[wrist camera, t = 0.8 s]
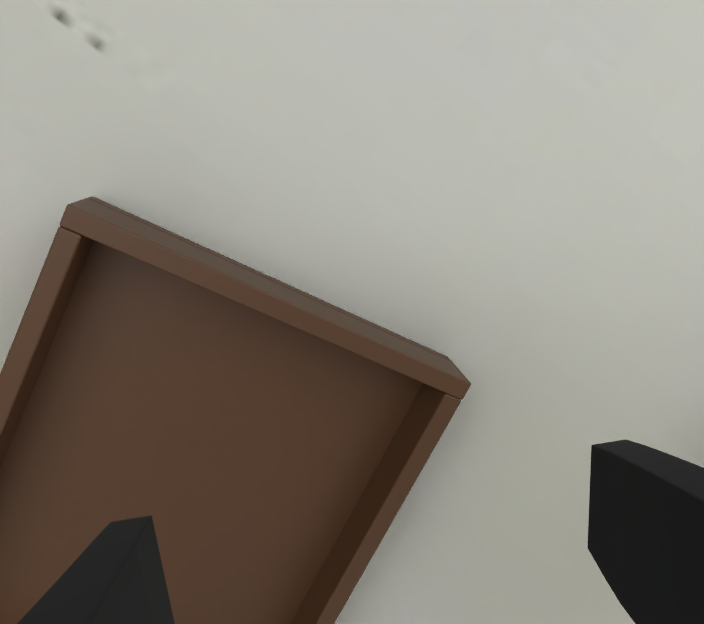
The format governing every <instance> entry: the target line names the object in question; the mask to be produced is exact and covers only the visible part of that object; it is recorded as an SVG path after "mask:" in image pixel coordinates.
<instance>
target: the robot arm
mask: <svg viewBox="0 0 704 624" xmlns="http://www.w3.org/2000/svg"><path fill="white" fill-rule="evenodd" d="M588 549H589V551H590V553H591V554H592V556H593V558H594V560H595V561H596V563H597V565H598V567H599V568H600V570H601V572H602V574H603V576H604V577H605V579H606V581H607V582H608V584H609V585H610V587H611V589H612V590H613V592H614V594H615V595H616V597H617V599H618V600H619V602H620V603H621V605H622V606H623V607H624V609H625V610H626V611H627V613H628V614H629V616H630V617H631V618H632V620H633V621H634V622H635V623H636V624H704V468H702V467H700V466H697V465H695V464H692V463H690V462H687V461H685V460H682V459H680V458H677V457H675V456H672V455H669V454H667V453H664V452H661V451H659V450H656V449H653V448H650V447H648V446H645V445H642V444H639V443H635V442H632V441H629V440H620V441H614V442H608V443H602V444H595V445H592V450H591V475H590V501H589V527H588ZM17 624H175V622H174V618H173V613H172V608H171V604H170V599H169V594H168V589H167V585H166V580H165V575H164V570H163V566H162V561H161V556H160V552H159V547H158V542H157V537H156V533H155V528H154V523H153V519H152V515H151V516H144V517H138V518H132V519H126V520H119V521H113V522H110V523H109V524H108V525H107V526H106V527H105V528H104V529H103V531H102V532H101V533H100V534H99V535H98V536H97V537H96V538H95V539H94V540H93V541H92V542H91V544H90V545H89V546H88V547H87V548H86V549H85V550H84V551H83V552H82V554H81V555H80V556H79V557H78V558H77V559H76V560H75V561H74V563H73V564H72V565H71V566H70V567H69V568H68V569H67V570H66V571H65V572H64V574H63V575H62V576H61V577H60V578H59V579H58V580H57V581H56V582H55V583H54V584H53V586H52V587H51V588H50V589H49V590H48V591H47V592H46V593H45V594H44V595H43V596H42V597H41V598H40V600H39V601H38V602H37V603H36V604H35V605H34V606H33V607H32V608H31V609H30V610H29V611H28V612H27V614H26V615H25V616H24V617H23V618H22V619H21V620H20V621H19V622H18V623H17Z"/></svg>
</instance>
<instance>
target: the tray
mask: <svg viewBox="0 0 704 624" xmlns="http://www.w3.org/2000/svg"><path fill="white" fill-rule="evenodd" d="M470 385H471V383H470V382H469V381H468V379H467V378H466V377H465V376H464V375H463V374H462V373H461V371H460V370H459V369H458V368H457V367H456V366H455V365H454V363H453V362H452V361H451V360H450V359H449V358H448V357H447V356H444V355H442V354H440V353H438V352H435V351H433V350H431V349H429V348H427V347H424V346H422V345H420V344H418V343H416V342H413V341H411V340H409V339H407V338H405V337H402V336H400V335H398V334H396V333H393V332H391V331H389V330H387V329H385V328H382V327H380V326H378V325H376V324H374V323H371V322H369V321H367V320H365V319H362V318H360V317H358V316H356V315H354V314H351V313H349V312H347V311H345V310H343V309H340V308H338V307H336V306H334V305H332V304H329V303H327V302H325V301H323V300H320V299H318V298H316V297H314V296H312V295H309V294H307V293H305V292H303V291H301V290H298V289H296V288H294V287H292V286H289V285H287V284H285V283H283V282H281V281H278V280H276V279H274V278H272V277H270V276H267V275H265V274H263V273H261V272H258V271H256V270H254V269H252V268H250V267H247V266H245V265H243V264H241V263H239V262H236V261H234V260H232V259H230V258H228V257H225V256H223V255H221V254H219V253H216V252H214V251H212V250H210V249H208V248H205V247H203V246H201V245H199V244H197V243H194V242H192V241H190V240H188V239H185V238H183V237H181V236H179V235H177V234H174V233H172V232H170V231H168V230H166V229H163V228H161V227H159V226H157V225H155V224H152V223H150V222H148V221H146V220H143V219H141V218H139V217H137V216H135V215H132V214H130V213H128V212H126V211H124V210H121V209H119V208H117V207H115V206H112V205H110V204H108V203H106V202H104V201H101V200H99V199H97V198H95V197H89V198H86V199H83V200H80V201H77V202H74V203H71V204H68V205H67V207H66V209H65V212H64V214H63V217H62V219H61V222H60V227H59V228H58V230H57V233H56V235H55V238H54V240H53V243H52V245H51V248H50V250H49V253H48V255H47V258H46V260H45V263H44V265H43V268H42V270H41V273H40V275H39V278H38V280H37V283H36V285H35V288H34V290H33V293H32V295H31V298H30V300H29V303H28V305H27V308H26V310H25V313H24V315H23V318H22V321H21V323H20V326H19V328H18V331H17V333H16V336H15V338H14V341H13V343H12V346H11V348H10V351H9V353H8V356H7V358H6V361H5V363H4V366H3V368H2V371H1V373H0V624H17V623H18V622H19V621H20V620H21V619H22V618H23V617H24V616H25V615H26V614H27V612H28V611H29V610H30V609H31V608H32V607H33V606H34V605H35V604H36V603H37V602H38V601H39V600H40V598H41V597H42V596H43V595H44V594H45V593H46V592H47V591H48V590H49V589H50V588H51V587H52V586H53V584H54V583H55V582H56V581H57V580H58V579H59V578H60V577H61V576H62V575H63V574H64V572H65V571H66V570H67V569H68V568H69V567H70V566H71V565H72V564H73V563H74V561H75V560H76V559H77V558H78V557H79V556H80V555H81V554H82V552H83V551H84V550H85V549H86V548H87V547H88V546H89V545H90V544H91V542H92V541H93V540H94V539H95V538H96V537H97V536H98V535H99V534H100V533H101V532H102V531H103V529H104V528H105V527H106V526H107V525H108V524H109V523H110V522H113V521H119V520H126V519H132V518H138V517H144V516H151V515H152V519H153V523H154V528H155V533H156V537H157V542H158V547H159V552H160V556H161V561H162V566H163V570H164V575H165V580H166V585H167V589H168V594H169V599H170V604H171V608H172V613H173V618H174V622H175V624H334V623H335V621H336V619H337V617H338V616H339V614H340V612H341V610H342V609H343V607H344V605H345V603H346V602H347V600H348V598H349V596H350V595H351V593H352V591H353V589H354V588H355V586H356V584H357V582H358V581H359V579H360V577H361V575H362V574H363V572H364V570H365V568H366V567H367V565H368V563H369V561H370V560H371V558H372V556H373V554H374V553H375V551H376V549H377V547H378V546H379V544H380V542H381V540H382V539H383V537H384V535H385V533H386V532H387V530H388V528H389V526H390V525H391V523H392V521H393V519H394V518H395V516H396V514H397V512H398V511H399V509H400V507H401V505H402V504H403V502H404V500H405V498H406V497H407V495H408V493H409V491H410V490H411V488H412V486H413V484H414V483H415V481H416V479H417V477H418V476H419V474H420V472H421V470H422V469H423V467H424V465H425V463H426V462H427V460H428V458H429V456H430V455H431V453H432V451H433V449H434V448H435V446H436V444H437V442H438V441H439V439H440V437H441V435H442V434H443V432H444V430H445V428H446V427H447V425H448V423H449V421H450V420H451V418H452V416H453V414H454V413H455V411H456V409H457V407H458V406H459V404H460V402H461V400H460V399H463V397H464V396H465V394H466V392H467V390H468V389H469V387H470Z"/></svg>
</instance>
